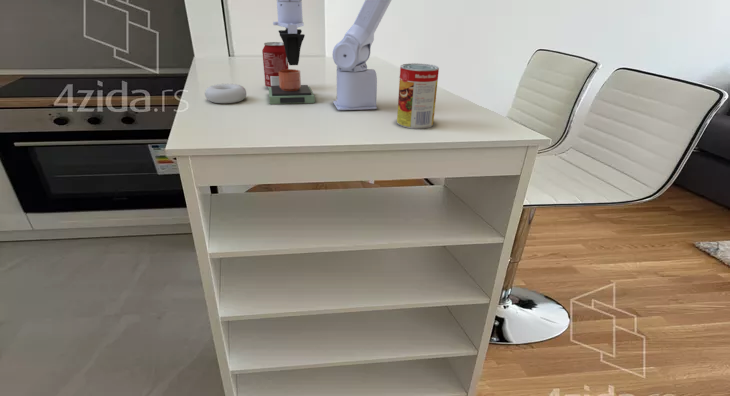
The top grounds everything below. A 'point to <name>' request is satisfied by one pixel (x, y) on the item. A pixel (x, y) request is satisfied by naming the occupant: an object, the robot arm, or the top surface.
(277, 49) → the soda can
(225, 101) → the donut
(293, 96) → the scale
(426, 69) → the canned food
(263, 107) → the top surface
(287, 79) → the orange cup
